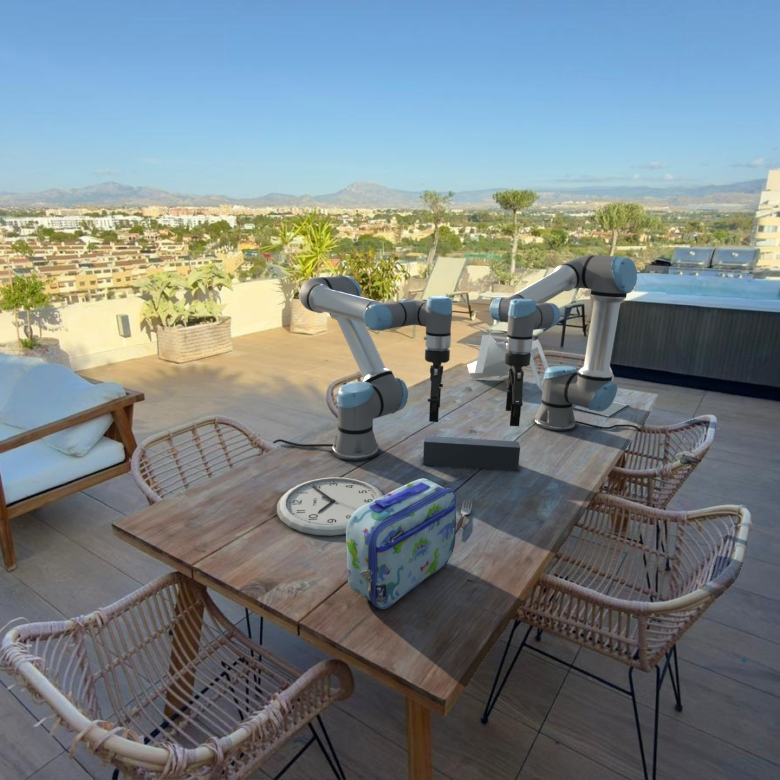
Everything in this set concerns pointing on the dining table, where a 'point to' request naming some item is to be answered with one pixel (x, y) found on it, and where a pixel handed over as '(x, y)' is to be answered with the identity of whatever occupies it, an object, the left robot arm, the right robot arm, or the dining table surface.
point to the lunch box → (400, 540)
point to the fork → (464, 512)
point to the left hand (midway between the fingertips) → (434, 414)
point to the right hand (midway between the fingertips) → (512, 418)
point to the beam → (471, 453)
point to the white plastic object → (500, 360)
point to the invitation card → (609, 411)
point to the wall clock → (324, 504)
